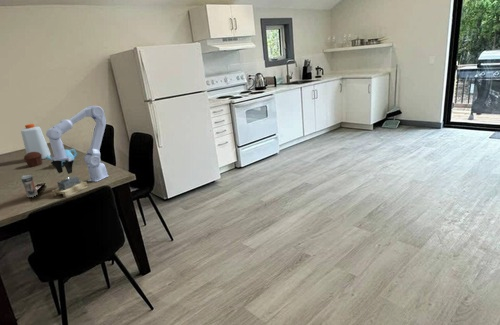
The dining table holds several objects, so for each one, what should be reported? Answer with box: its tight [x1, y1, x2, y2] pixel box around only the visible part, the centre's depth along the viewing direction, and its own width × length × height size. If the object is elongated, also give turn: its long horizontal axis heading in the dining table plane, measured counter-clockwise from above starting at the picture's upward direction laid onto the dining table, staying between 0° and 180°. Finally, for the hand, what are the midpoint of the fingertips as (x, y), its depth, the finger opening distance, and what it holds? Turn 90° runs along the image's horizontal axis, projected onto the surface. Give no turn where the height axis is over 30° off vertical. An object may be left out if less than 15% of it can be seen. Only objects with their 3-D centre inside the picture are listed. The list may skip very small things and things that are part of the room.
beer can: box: [20, 174, 38, 198], centre depth 173 cm, size 5×5×12 cm
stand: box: [51, 181, 89, 198], centre depth 176 cm, size 14×10×3 cm
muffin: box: [23, 152, 43, 168], centre depth 239 cm, size 12×11×10 cm
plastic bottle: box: [20, 123, 52, 160], centre depth 256 cm, size 15×15×28 cm
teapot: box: [46, 148, 78, 167], centre depth 231 cm, size 20×17×12 cm
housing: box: [56, 175, 82, 191], centre depth 175 cm, size 12×5×5 cm, turn 157°
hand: (65, 172), depth 179 cm, fingers open, 7 cm apart
